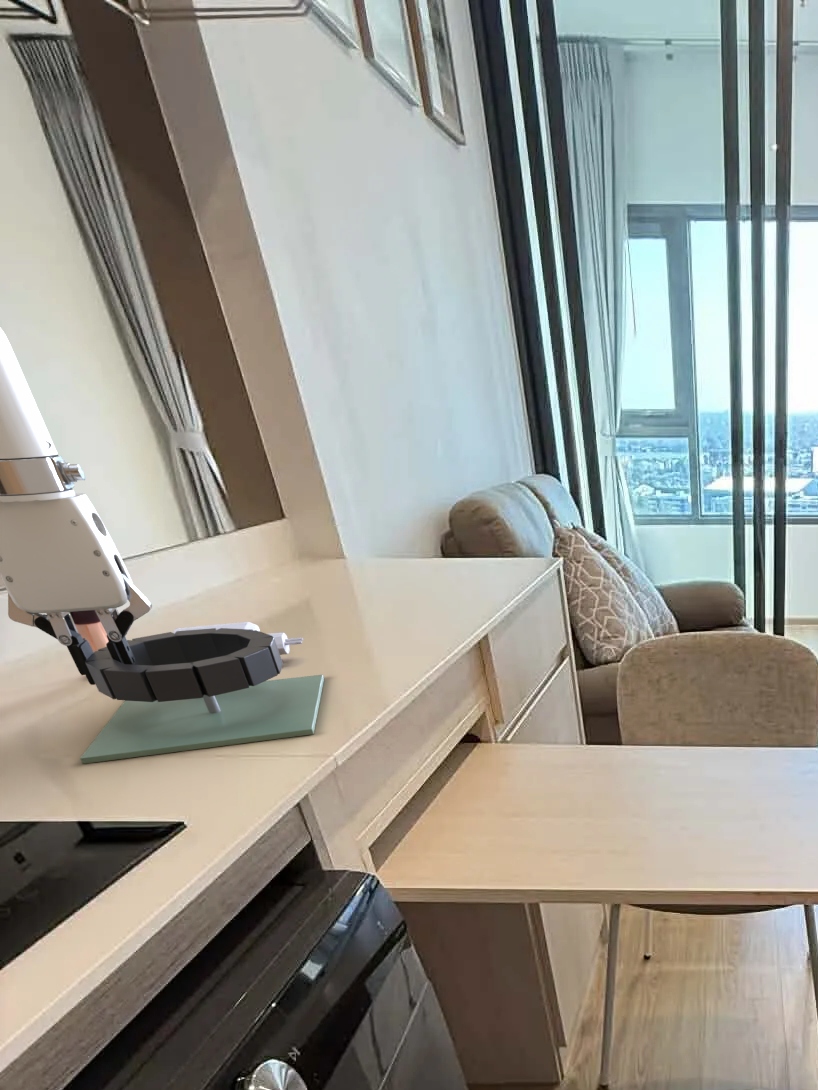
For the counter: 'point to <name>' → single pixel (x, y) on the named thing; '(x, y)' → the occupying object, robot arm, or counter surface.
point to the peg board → (210, 720)
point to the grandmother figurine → (90, 628)
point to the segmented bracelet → (187, 665)
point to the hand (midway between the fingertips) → (113, 678)
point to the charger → (279, 638)
